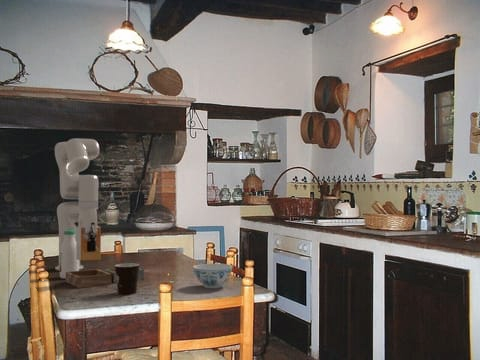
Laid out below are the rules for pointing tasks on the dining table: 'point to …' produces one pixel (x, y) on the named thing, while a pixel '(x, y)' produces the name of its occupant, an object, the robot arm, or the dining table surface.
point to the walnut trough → (88, 278)
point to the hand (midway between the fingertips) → (88, 250)
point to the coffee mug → (127, 278)
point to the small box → (82, 245)
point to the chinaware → (212, 274)
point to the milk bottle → (68, 254)
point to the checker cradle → (113, 274)
